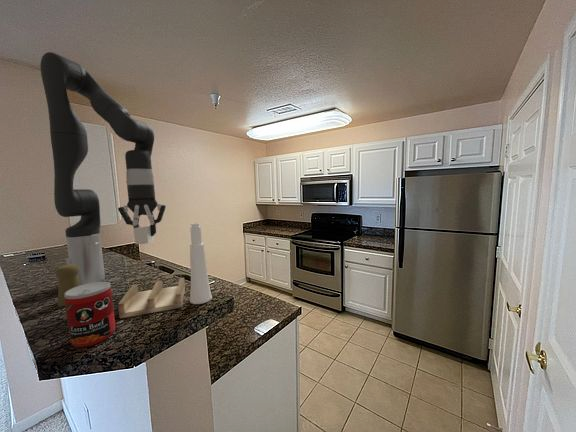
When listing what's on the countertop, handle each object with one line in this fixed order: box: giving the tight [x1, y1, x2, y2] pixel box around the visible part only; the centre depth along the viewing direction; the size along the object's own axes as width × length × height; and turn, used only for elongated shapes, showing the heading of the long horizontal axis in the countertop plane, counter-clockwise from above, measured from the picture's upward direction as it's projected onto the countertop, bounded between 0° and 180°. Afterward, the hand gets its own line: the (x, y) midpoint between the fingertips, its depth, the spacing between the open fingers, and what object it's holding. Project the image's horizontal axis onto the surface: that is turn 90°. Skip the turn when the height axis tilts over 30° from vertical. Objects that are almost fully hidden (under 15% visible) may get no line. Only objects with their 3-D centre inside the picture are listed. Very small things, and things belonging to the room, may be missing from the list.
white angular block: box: [133, 224, 156, 245], centre depth 80 cm, size 4×12×5 cm, turn 20°
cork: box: [54, 264, 81, 307], centre depth 72 cm, size 6×6×11 cm
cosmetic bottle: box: [189, 222, 213, 305], centre depth 69 cm, size 6×6×22 cm
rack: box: [117, 277, 186, 319], centre depth 70 cm, size 14×14×4 cm
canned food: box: [64, 281, 116, 348], centre depth 53 cm, size 8×8×11 cm
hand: (145, 236), depth 81 cm, fingers closed on white angular block, 3 cm apart
